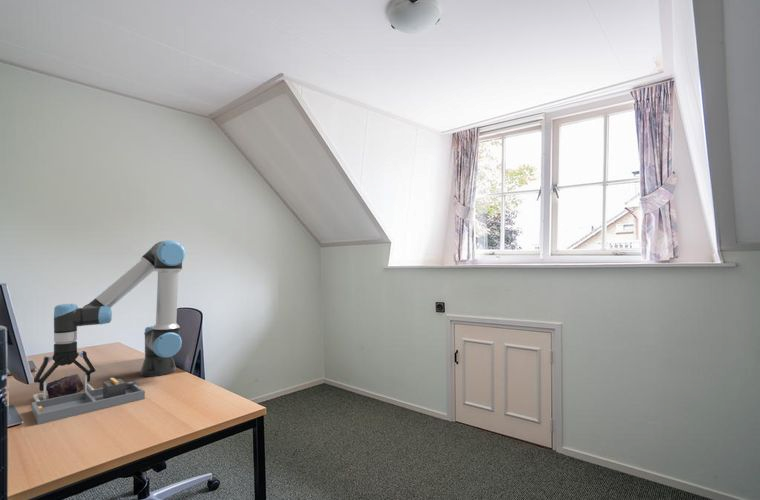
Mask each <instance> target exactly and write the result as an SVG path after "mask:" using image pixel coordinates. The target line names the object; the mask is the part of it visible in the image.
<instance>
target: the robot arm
mask: <svg viewBox="0 0 760 500" xmlns="http://www.w3.org/2000/svg"><path fill="white" fill-rule="evenodd" d="M185 257H186V250H185V248H184V246H183V245H182V244H181V243H180V242H178V241H176V240H171V239H170V240H162V241H158V242H157V243H155V244H154V245H152V247H150V248H149V250H147V252H145V253H144V254H143V255H142V256H141V258H140V260H139V261H138V262H137V263H136V264H135V265H133V266H132V267H131V268H130V269H128V270H127V271H125V273H123V275H121V276H120V277H119V278H118V279H117V280H116V281H114V282H113V283H112V284H111V285H109V286H108V287H107V288H106V289H105V290H103V291H102V292H101V293H99V295H97V296H96V297H95V298H94V299H93V300H91V301H90V302H89V303H87V304H85V305H84V306H83V307H78V304H76V303H62V304H57V305H56V306H54V309H53V310H54V311H53V342H54V343H53V355H52V356H46V355H45V356H44V357H43V361H42V363H41V365H40V367H39V369H38V371H37V373H36V374H35V376H34V378H33V379H34V381H33V382H34V383H38V384H39V388H38V389H39V391H40V392H42V393H43V397H42V400H46V399H47V396H46V392H47V390H46V386H47V381H46V380H47V379H48V378H49V377H50V376H51V375H52V374H53V372H54V371H55V370H56V369H57V368H58V367H59V366H61V367H63V366H69V365H71V364H75V365H76V367H78V368H79V369H80V370H81V371H83V372H84V374H83V385H84V389H83V392H85V391H88V388H87V384H88V383H90V381H91V375H92V374H93V373H95V372H96V369H95V367H94V365H93V363H92V362H91V360H90V359H89V358H88V355H87V353H88V352H87V351H85V350H82V351H80V352H78V341H77V340H78V327H84V326H94V325H95V326H97V325H106V324H110V323H111V321H112V317H113V316H112V315H113V312H112V307H114V306H115V305H116V304H117V303H118V302H120V301H121V299H122V298H124V297H125V296H126V295H127V294H129V293H130V292H131V291H132V290H133V289H134V288H136V287H137V286H138V285H139V284H140V283H141V282H142V281H144V280H145V279H146V278H147V277H148V276H150V274H152V273H153V272H157V287H156V288H157V289H156V310H155V311H156V314H155V324H154V325H153V326H147V327H145V329H144V359H143V363H142V365H141V368H140V376H142V377H159V376H164V375H169V374H172V373H174V372H176V368H177V367H176V364H175V360H174V358H173V356H175V355H176V354H178V352H179V351H180V350H181V348H182V343H183V340H182V337H181V335H180V329H181V327H180V325H179V324H178V323H177V319H178V318H177V317H178V293H179V292H178V291H179V289H178V287H179V272H181V271H182V270H183V262H184V260H185ZM79 356H80V358H83V360H84V362H85V364H86V365H87V367H88V368H89V370H88V369H87V368H86V367H85V366H84V365H82V364H81V363H80V362H79V361H78V360H76V359H77V358H78V357H79ZM51 360H53V361H54V363H52V365H51V366H50V367H49V369H48V370H47V371H46V372H45V373H44V374H43V372H44V371H45V369H46V367H47V366H48V363H50V362H51Z"/></svg>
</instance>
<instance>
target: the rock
mask: <svg viewBox="0 0 760 500" xmlns="http://www.w3.org/2000/svg"><path fill="white" fill-rule="evenodd" d="M83 386H84V382H83V381H82V380H81V378H80V376H79V374H78V373H75V374H72V375H67V376H64V377H62V378H60V379H57V380H54V381H51V382H47V383H46V392H48V396H47V397H48V399H51V398H56V397H61V396H66V395H70V394H75V393H80V392H82V391H84V388H83Z"/></svg>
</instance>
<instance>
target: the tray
mask: <svg viewBox="0 0 760 500" xmlns="http://www.w3.org/2000/svg"><path fill="white" fill-rule="evenodd" d="M83 388H84V386H83ZM94 389H95V388H94V386H92V385H91V384H90V383H87V390H88V391H90V390H94ZM46 397H48V392H47V391H46ZM40 398H43V392H41V393H35V394H33V400H34V402H37V401H41V400H40Z"/></svg>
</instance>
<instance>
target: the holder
mask: <svg viewBox="0 0 760 500" xmlns="http://www.w3.org/2000/svg"><path fill="white" fill-rule="evenodd" d="M145 396H146V395H145V390H144V389H143V388H142V387H140V386H139V385H137V381H136V380H132V381H124V380H123V379H121V378H115V377H110V378H109V380H107V381H103V383H102V387H99V388H94V390H87V391H80V392H78V393H75V394H70V395H66V396H61V397H56V398H51V399H49V398H48V399H47V398H46V399H42V400H40V401H37V402H35V401H32V402H31V413H32V415H33V416H34V418H35V422H36V423H37V425H42V424H45V423H49V422H53V421H54V422H55V421H58V420H61V419H62V420H63V419H66V418H69V417H74V416H79V415H83V414H86V413H91V412H95V411H99V410H104V409H107V408H112V407H117V406H120V405H124V404H128V403H134V402H137V401H141V400H145Z"/></svg>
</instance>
